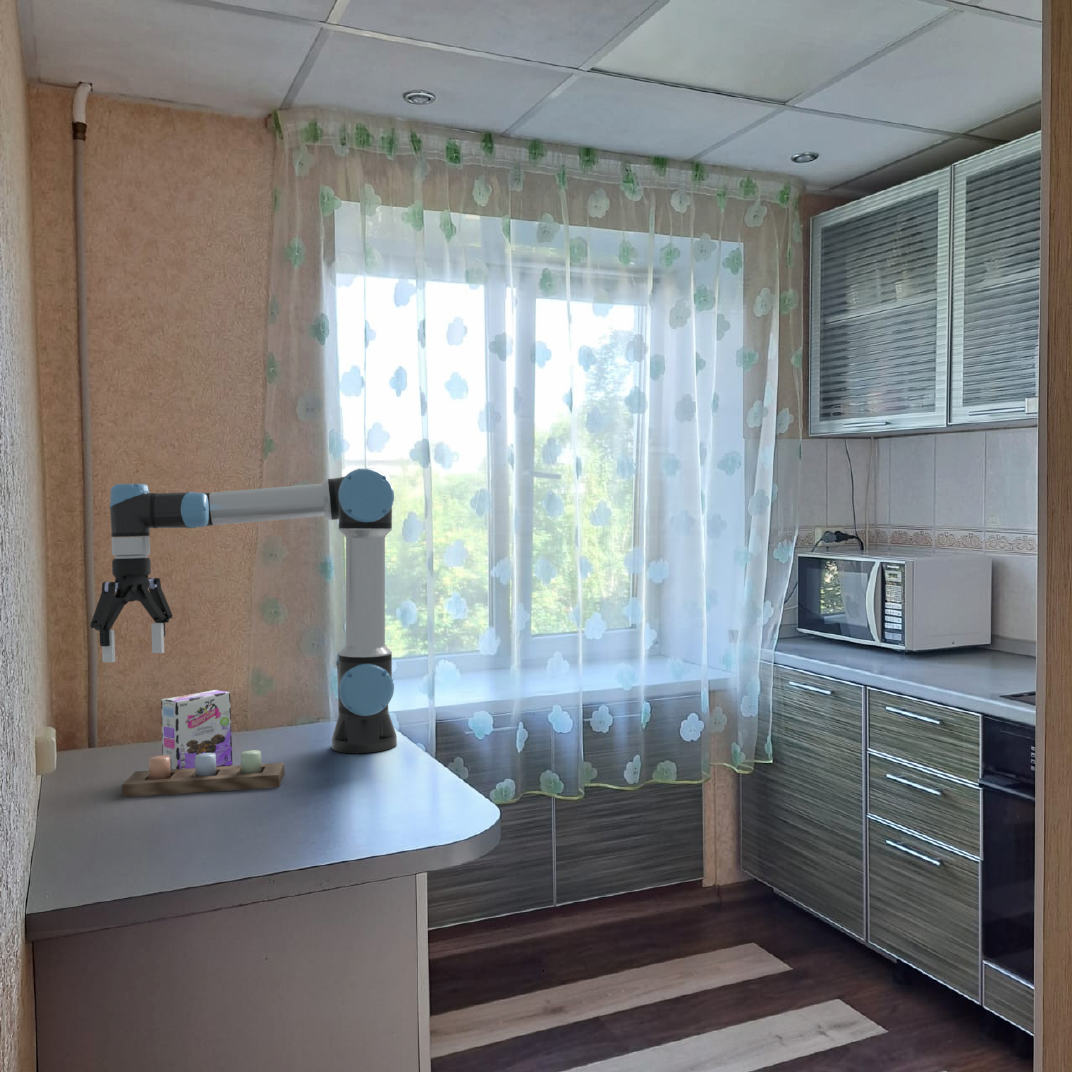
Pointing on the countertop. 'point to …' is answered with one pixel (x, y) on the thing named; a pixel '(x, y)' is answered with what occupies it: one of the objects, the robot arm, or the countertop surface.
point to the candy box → (197, 728)
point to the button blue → (205, 764)
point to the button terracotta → (159, 767)
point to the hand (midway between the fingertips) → (134, 657)
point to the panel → (203, 781)
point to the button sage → (251, 762)
